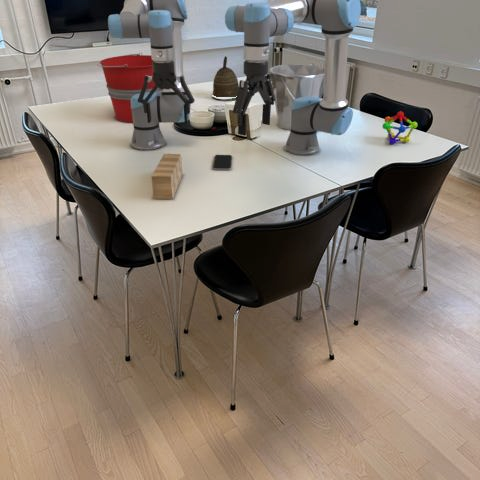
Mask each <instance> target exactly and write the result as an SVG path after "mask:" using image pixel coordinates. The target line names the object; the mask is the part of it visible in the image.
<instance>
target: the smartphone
mask: <svg viewBox="0 0 480 480" xmlns="http://www.w3.org/2000/svg"><path fill="white" fill-rule="evenodd" d="M232 156H233V155H231V154H215V156H214V160H213V161H214V162H213V167H212V169H213V170H215V171H217V170H218V171H229V170H231V169H232Z"/></svg>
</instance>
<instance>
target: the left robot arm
mask: <svg viewBox="0 0 480 480" xmlns="http://www.w3.org/2000/svg"><path fill="white" fill-rule="evenodd" d="M185 20H188V12H187V5H186V0H124V2H123V8H122V10H121V11H120V13H119V14H118V13H115V14H110V15H109V16H108V18H107V25H108V26H107V27H108V32H109V35H110V36H111V37H112V38H113V39H120V40H122V39H149V42H150V56H151V57H152V60H153V63H152V68H153V76H149V75H146V76H145V77H144V84H143V87H142V90H141V92H140V93H139V94H136V95H134V96H133V97H132V98H131V110H132V118H133V123H132V125H133V132H132V135H131V142H130V143H131V147H132V148H134V149H135V150H141V151H151V150H153V151H154V150H157V149H161V148H163V147H164V146H165V144H166V140H165V137H164V135H163V132H162V130H161V127H160V123H162V124H163V123H165V124H166V123H169V124H170V123H178V124H180V123H184V124H188V121H189V120H190V115H191V107H192V105H193V104H194V103H195V101H196V100H195V97H194V96H193V94H192V92H191V91H190V88H189V86H188V84H187V82H186V79H185V76H184V61H183V60H184V57H183V42H182V41H183V39H182V28H183V26H184V25H185ZM151 80H153V82H154V83H155V84H156V85H155V86H154V87H153V89H152V90H151V91H150V92H146V89H147V86H148V84H149V82H150V81H151ZM157 88H159V89H163V90H162V91H161V92H162V96H157V94H156V92H155V91H156V90H157Z"/></svg>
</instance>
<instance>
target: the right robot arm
mask: <svg viewBox="0 0 480 480" xmlns="http://www.w3.org/2000/svg"><path fill="white" fill-rule="evenodd" d="M361 12H362V5H361V0H273V1H272V0H271V1H266V2H248V3H246V4H245V5H239V4H238V5H231V6H229V7H228V8H227V9H226V11H225V15H224V25H225V26H226V28H227V29H228V30H229V31H231V32H235V33H243V59H244V61H243V74H244V75H245V77H246V78H245V80H243V79H241V80H240V79H239V81H238V84H239V90H238V94H237V97H236V99H235V101H234V104H233V107H232V108H233V109H232V113H233V114H236V115H237V134H238V135H241V136H244V137H245V136H247V114H246V112H247V110H248V107H249V105H250V102H251V101H252V98H253V97H254V96H255V95H256V94H257V93H258V95H260V97H261V99H262V102H263V103H262V112H261V113H262V115H261V124H262V125H266V126H270V125H271V112H272V106H274V105H275V95H274V91H273V87H272V82H271V74H270V73H269V61H268V60H269V53H270V51H269V48H270V46H269V45H270V38H272V37H278V36H280V37H281V36H284V35H286V34H289V33H290V32H291V31H292V29H293V28H294V24H308V25H314V26H321V34H322V35H323V36H324V62H323V63H324V64H323V65H324V66H323V67H324V91H323V94H322V98H321V101H320V99H319V98H318V97H302V98H298V99H295V100H294V101H293V104H292V109H291V110H292V113H291V130H289V131H290V132H289V135H288V137H287V140H286V142H285V145H284V146H285V147H284V149H285V151H286V152H288V153H290V154H292V155H297V156H311V155H314V154H317V153H318V152H319V150H320V144H319V140H318V136H317V135H318V134H317V132H321V133H325V134H330V135H332V136H334V135H335V136H342V135H344V134H345V133H346V132H347V131H348V129H349V128H350V126H351V124H352V120H353V116H354V111H353V109H352V108H351V107H349V100H348V99H347V98H346V84H347V83H346V82H347V69H348V68H347V67H348V66H347V65H348V52H349V51H348V50H349V37H350V36H351V34H353V32H354V28H356V27H357V26H358V24H359V22H360V18H361V14H362V13H361Z"/></svg>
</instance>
